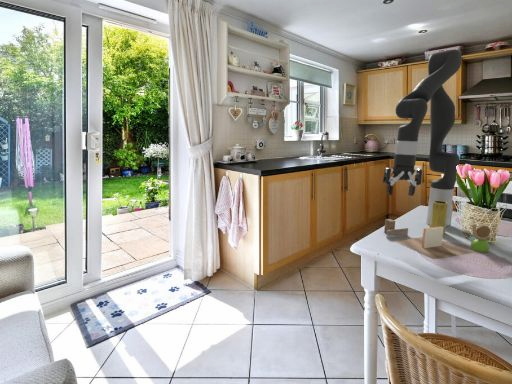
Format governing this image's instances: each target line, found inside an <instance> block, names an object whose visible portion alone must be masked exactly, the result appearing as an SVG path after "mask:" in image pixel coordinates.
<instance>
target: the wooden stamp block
mask: <svg viewBox="0 0 512 384" xmlns="http://www.w3.org/2000/svg"><path fill="white" fill-rule="evenodd" d="M395 228H396V220H393V219H391V218H386V219H385V220H384V232H383V233H384V234H386V238H387V239H391V238H399V237H407V236H408V234H409V228H408V227H404V228H396V229H395Z"/></svg>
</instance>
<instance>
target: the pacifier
mask: <svg viewBox="0 0 512 384" xmlns="http://www.w3.org/2000/svg"><path fill="white" fill-rule="evenodd" d="M475 239H477V238H475V237H474V235H473V236H470V237H469V238H468V241H470V242H472V241H473V240H475Z"/></svg>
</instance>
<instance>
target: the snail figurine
mask: <svg viewBox="0 0 512 384" xmlns="http://www.w3.org/2000/svg"><path fill="white" fill-rule="evenodd" d="M471 222H472V224H471V227H472V229H471V230H472V235H473V236H474V237H475V238H477V239H475V240H473V241H471V243H470V248H471V250H472V251H475V252H479V253H488V252H489V251H490V248H491V247H490V244H489V242H488V241H487V239H488V238H490V234H491V229H490V227H488V226H487V225H480V226H478V227H477V224H476V221H474V220H472V221H471Z"/></svg>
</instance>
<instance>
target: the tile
mask: <svg viewBox="0 0 512 384" xmlns="http://www.w3.org/2000/svg"><path fill="white" fill-rule="evenodd" d="M443 229H444V227H441V226H440V227H432V228H430V227H424V228H423V230H422V231H423V233H422V237H423V240H422V247H423V248H430V247H436V246H441V245H442V241H443V236H444V234H443Z"/></svg>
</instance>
